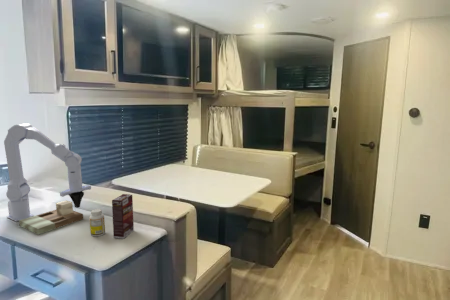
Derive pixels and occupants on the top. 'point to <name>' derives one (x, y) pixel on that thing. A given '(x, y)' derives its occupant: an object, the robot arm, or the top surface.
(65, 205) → the cream block
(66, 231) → the top surface
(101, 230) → the supplement bottle
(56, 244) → the top surface
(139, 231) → the top surface
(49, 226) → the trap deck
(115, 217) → the supplement box
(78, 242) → the top surface
